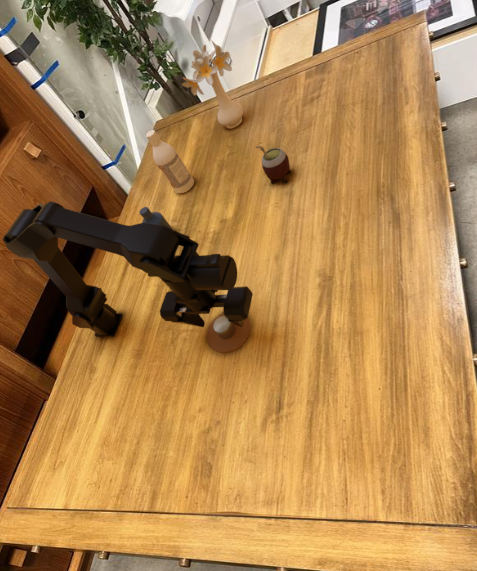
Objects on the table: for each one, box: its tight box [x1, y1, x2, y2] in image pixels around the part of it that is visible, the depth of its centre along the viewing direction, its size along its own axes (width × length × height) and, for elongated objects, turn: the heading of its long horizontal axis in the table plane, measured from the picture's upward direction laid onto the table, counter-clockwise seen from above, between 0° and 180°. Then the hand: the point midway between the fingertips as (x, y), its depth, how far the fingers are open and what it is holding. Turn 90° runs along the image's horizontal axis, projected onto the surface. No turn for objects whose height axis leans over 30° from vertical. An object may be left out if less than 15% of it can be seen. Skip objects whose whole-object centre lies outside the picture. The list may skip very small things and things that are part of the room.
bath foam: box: [145, 129, 195, 194], centre depth 116 cm, size 7×7×20 cm
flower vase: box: [181, 39, 244, 130], centre depth 124 cm, size 13×18×25 cm
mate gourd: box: [255, 145, 292, 185], centre depth 101 cm, size 8×8×15 cm
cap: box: [213, 316, 236, 339], centre depth 83 cm, size 4×4×3 cm
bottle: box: [139, 206, 174, 230], centre depth 108 cm, size 6×6×11 cm
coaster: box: [206, 312, 251, 354], centre depth 84 cm, size 10×10×1 cm
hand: (222, 324), depth 82 cm, fingers open, 9 cm apart
